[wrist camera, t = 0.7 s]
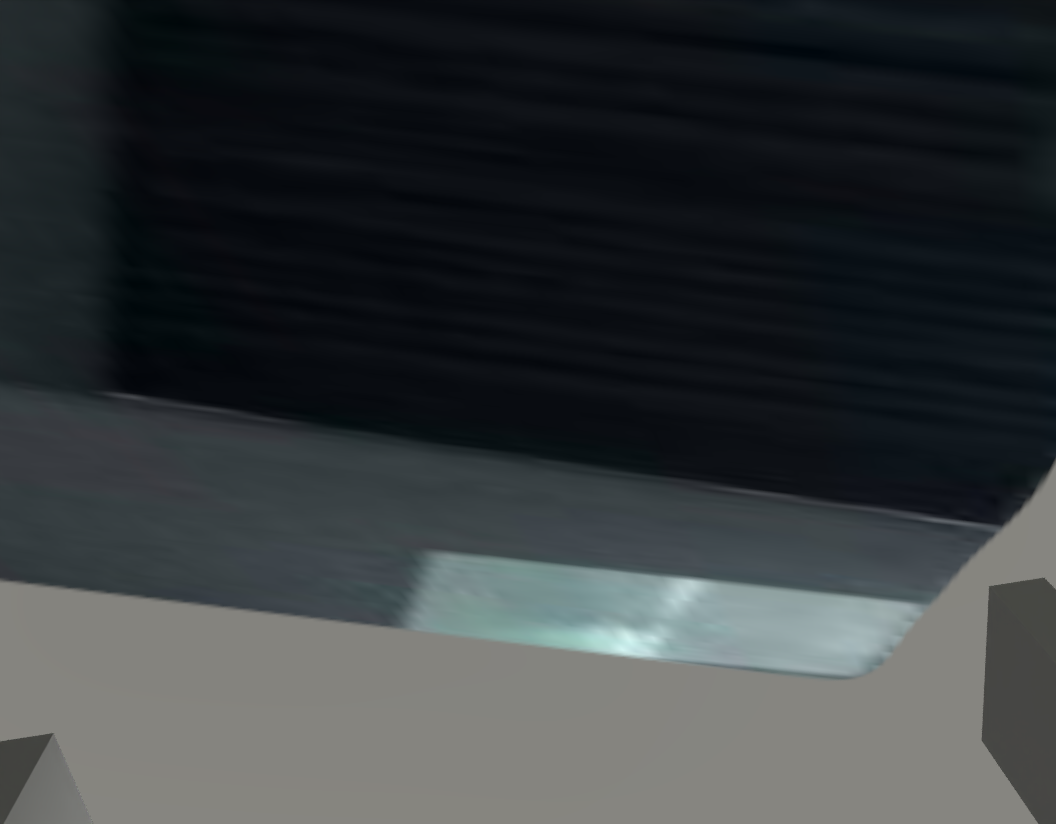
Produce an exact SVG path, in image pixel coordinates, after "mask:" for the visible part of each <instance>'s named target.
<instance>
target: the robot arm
mask: <svg viewBox="0 0 1056 824" xmlns="http://www.w3.org/2000/svg"><path fill="white" fill-rule="evenodd" d="M986 644H987V645H986V663H985V685H984V705H983V706H984V707H983V727H982V741H983V743H984V744H985V746H986V747H987V749H988V750H989V752H990V753H991V754H992V756H993V758H994V759H995V761H996V762H997V764H998V765H999V766H1000V768H1001V769H1002V771H1003V772H1004V774H1005V775H1006V777H1007V778H1008V780H1009V781H1010V783H1011V784H1012V786H1013V787H1014V788H1015V790H1016V791H1017V793H1018V794H1019V796H1020V797H1021V799H1022V800H1023V802H1024V803H1025V805H1026V806H1027V807H1028V809H1029V811H1030V812H1031V814H1032V815H1033V816H1034V818H1035V819H1036V821H1037V822H1038V824H1056V590H1055V588H1054V587H1053V586H1052V585H1051V584H1050V583H1049V582H1048V581H1047V580H1046V579H1045V578H1039V579H1033V580H1027V581H1020V582H1014V583H1007V584H1001V585H995V586H989V601H988V622H987V643H986ZM0 824H93V822H92V820H91V818H90V815H89V813H88V811H87V808H86V806H85V804H84V802H83V799H82V797H81V795H80V792H79V790H78V788H77V786H76V783H75V781H74V779H73V776H72V774H71V772H70V770H69V767H68V765H67V763H66V761H65V758H64V756H63V754H62V751H61V749H60V747H59V744H58V742H57V740H56V738H55V735H54V733H52V734H45V735H39V736H33V737H27V738H20V739H13V740H7V741H1V742H0Z"/></svg>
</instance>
